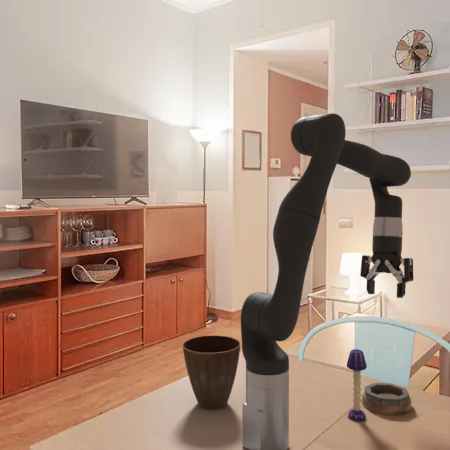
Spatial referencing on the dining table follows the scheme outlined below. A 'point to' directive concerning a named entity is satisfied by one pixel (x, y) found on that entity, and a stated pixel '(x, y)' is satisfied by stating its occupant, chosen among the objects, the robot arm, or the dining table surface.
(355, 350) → the toy lamp
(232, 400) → the dining table surface
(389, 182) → the robot arm
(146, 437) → the dining table surface
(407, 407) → the plinth
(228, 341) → the plant pot
